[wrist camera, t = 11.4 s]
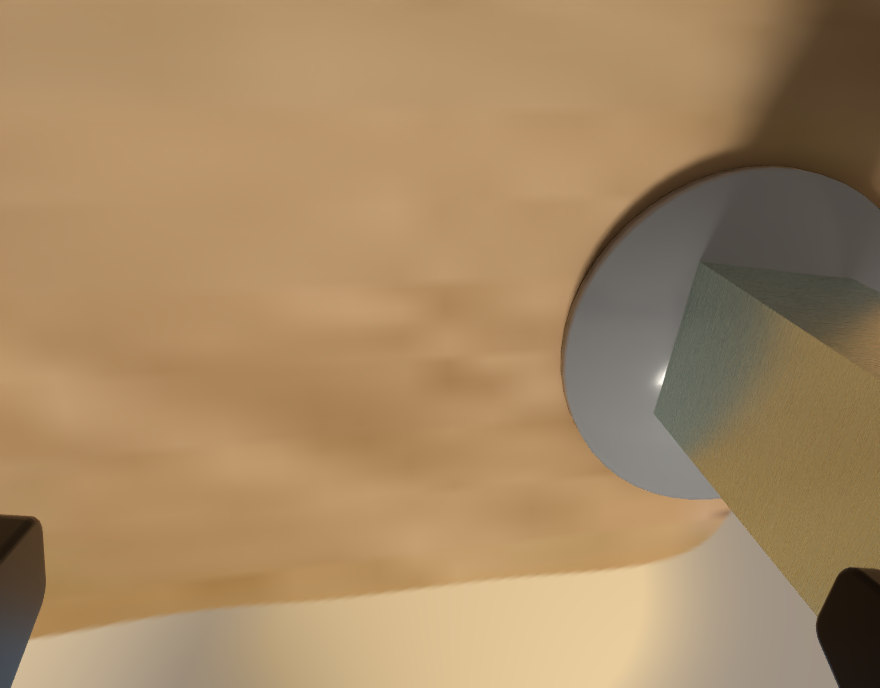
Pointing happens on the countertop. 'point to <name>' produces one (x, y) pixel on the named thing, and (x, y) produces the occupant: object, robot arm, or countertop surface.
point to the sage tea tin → (784, 413)
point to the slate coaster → (667, 290)
